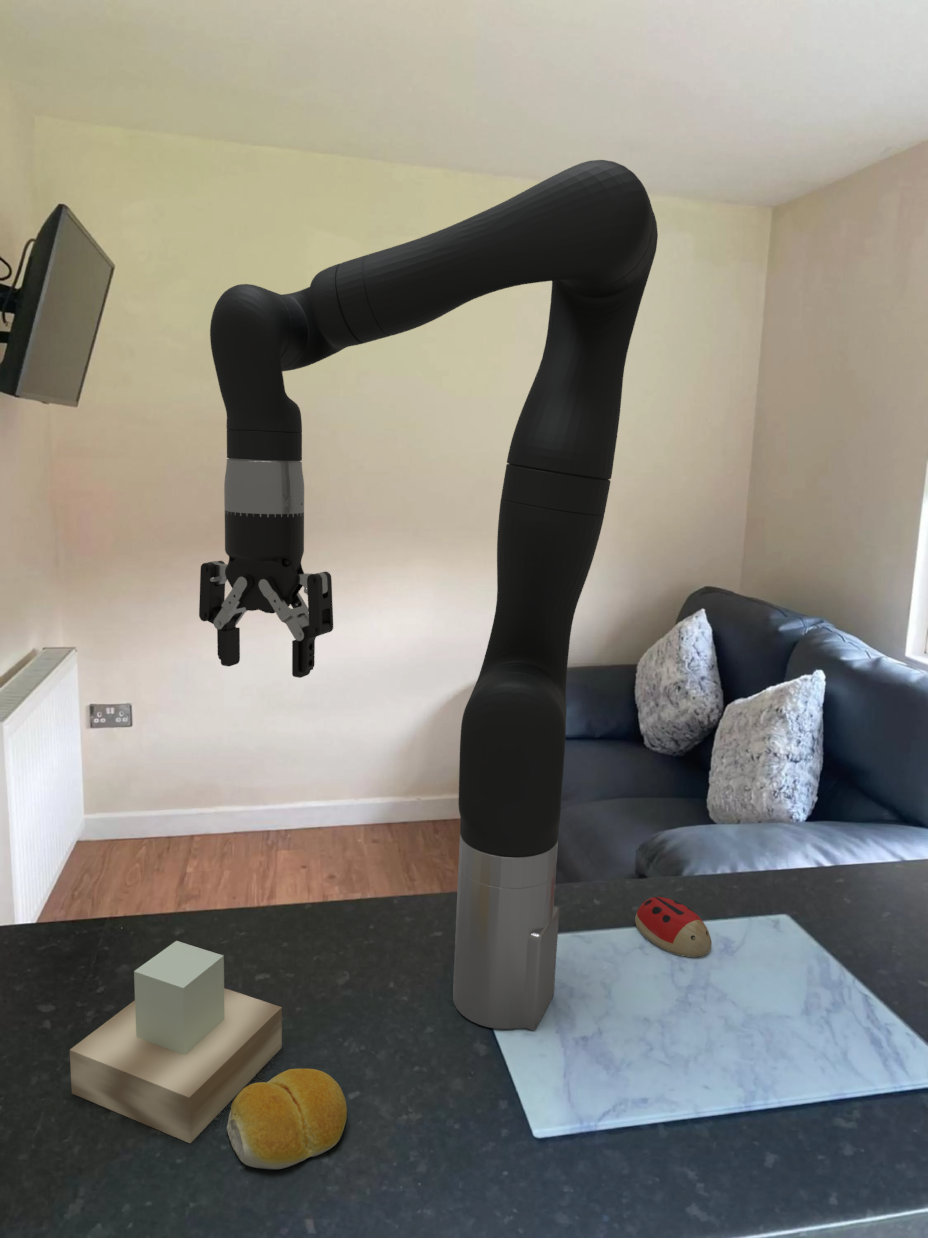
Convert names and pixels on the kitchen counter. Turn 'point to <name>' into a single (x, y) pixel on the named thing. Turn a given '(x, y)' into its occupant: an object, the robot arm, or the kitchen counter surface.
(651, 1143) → the kitchen counter surface
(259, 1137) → the bread roll
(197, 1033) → the sage block
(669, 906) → the ladybug figurine
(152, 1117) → the birch plinth
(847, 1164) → the kitchen counter surface
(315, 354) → the robot arm
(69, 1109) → the kitchen counter surface
